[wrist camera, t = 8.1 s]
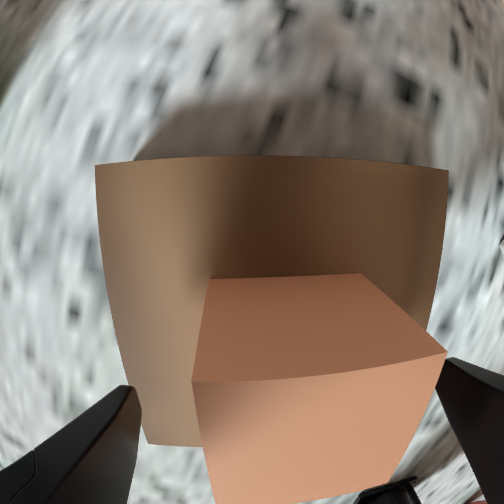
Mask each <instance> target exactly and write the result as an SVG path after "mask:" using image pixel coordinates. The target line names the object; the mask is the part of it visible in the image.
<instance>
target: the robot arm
mask: <svg viewBox="0 0 504 504" xmlns="http://www.w3.org/2000/svg"><path fill="white" fill-rule="evenodd" d="M435 389H436V391H437V394H438V396H439V399H440V401H441V403H442V406H443V408H444V411H445V413H446V416H447V418H448V421H449V423H450V425H451V427H452V429H453V431H454V433H455V435H456V437H457V439H458V441H459V443H460V445H461V447H462V449H463V451H464V453H465V455H466V457H467V459H468V461H469V463H470V466H471V468H472V470H473V472H474V474H475V476H476V479H477V481H478V483H479V485H480V488H481V490H482V492H483V495H484V497H485V499H486V502H487V504H504V376H503V375H501V374H498V373H495V372H492V371H490V370H487V369H484V368H481V367H479V366H476V365H473V364H471V363H468V362H465V361H463V360H460V359H457V358H454V357H451V358H447V359H445V361H444V364H443V367H442V370H441V373H440V375H439V378H438V381H437V383H436V386H435ZM141 418H142V408H141V405H140V401H139V398H138V395H137V391H136V389H135V387H133V386H127V385H120V386H118V387H117V388H115V389H114V390H113V391H111V392H110V393H109V394H107V395H106V396H105V397H103V398H102V399H101V400H100V401H98V402H97V403H96V404H94V405H93V406H92V407H90V408H89V409H88V410H86V411H85V412H83V413H82V414H81V415H79V416H78V417H77V418H75V419H74V420H73V421H71V422H70V423H69V424H67V425H66V426H65V427H63V428H62V429H61V430H59V431H58V432H56V433H55V434H54V435H52V436H51V437H50V438H48V439H47V440H45V441H44V442H43V443H41V444H40V445H38V446H37V447H36V448H34V450H31V451H30V452H29V453H27V454H26V455H24V456H23V457H21V458H20V459H18V460H17V461H15V462H14V463H12V464H11V465H9V466H8V467H6V468H4V469H2V470H1V471H0V504H127V500H128V495H129V491H130V486H131V482H132V478H133V473H134V469H135V465H136V460H137V452H138V442H139V434H140V426H141ZM418 480H419V479H418V477H413V478H410V479H408V480H405V481H402V482H399V483H396V484H393V485H390V486H386V487H383V488H380V489H376V490H373V491H369V492H366V493H363V494H361V495H359V496H358V498H357V500H356V502H355V503H354V504H421V502H420V500H419V498H418V496H417V494H416V492H415V490H414V488H413V487H414V486H415V485H416V483H417V482H418Z"/></svg>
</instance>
